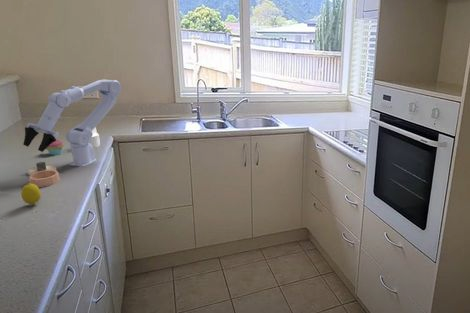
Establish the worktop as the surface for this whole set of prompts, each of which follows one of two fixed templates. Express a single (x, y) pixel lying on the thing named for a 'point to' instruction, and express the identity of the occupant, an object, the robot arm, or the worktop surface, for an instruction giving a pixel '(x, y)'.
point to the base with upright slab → (95, 138)
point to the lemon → (30, 193)
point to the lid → (40, 168)
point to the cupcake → (55, 147)
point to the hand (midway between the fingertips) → (32, 148)
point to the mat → (28, 175)
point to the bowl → (44, 178)
